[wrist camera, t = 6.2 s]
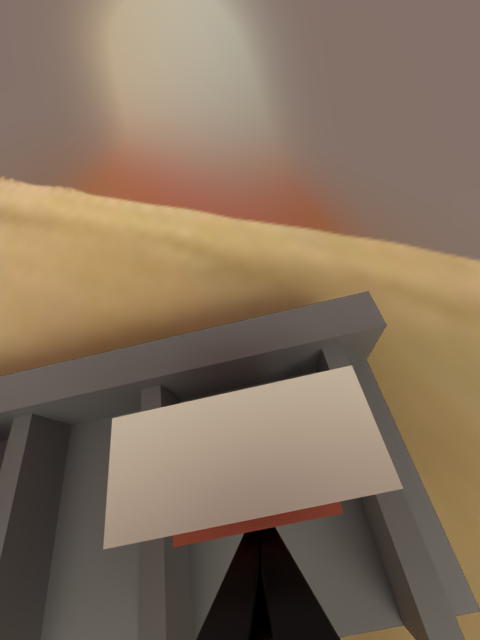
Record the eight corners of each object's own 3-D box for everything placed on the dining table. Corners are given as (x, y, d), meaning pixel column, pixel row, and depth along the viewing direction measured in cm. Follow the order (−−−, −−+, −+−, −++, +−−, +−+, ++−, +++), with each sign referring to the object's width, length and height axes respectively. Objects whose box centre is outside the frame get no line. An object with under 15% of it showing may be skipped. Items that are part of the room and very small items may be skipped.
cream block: (346, 496, 13) (410, 504, 6) (199, 526, 13) (102, 566, 6) (323, 422, 15) (352, 365, 8) (193, 450, 15) (112, 417, 8)
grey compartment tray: (466, 602, 11) (570, 668, 7) (-206, 726, 13) (-457, 847, 8) (347, 331, 18) (364, 283, 14) (-80, 427, 19) (-183, 410, 15)
